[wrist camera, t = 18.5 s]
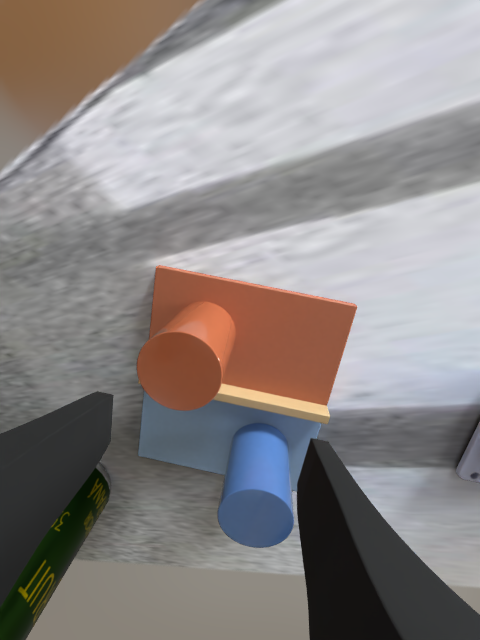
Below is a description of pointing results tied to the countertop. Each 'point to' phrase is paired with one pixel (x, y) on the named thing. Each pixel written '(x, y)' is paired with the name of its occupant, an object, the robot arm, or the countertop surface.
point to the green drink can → (53, 557)
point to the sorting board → (250, 369)
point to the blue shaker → (257, 488)
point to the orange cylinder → (188, 357)
